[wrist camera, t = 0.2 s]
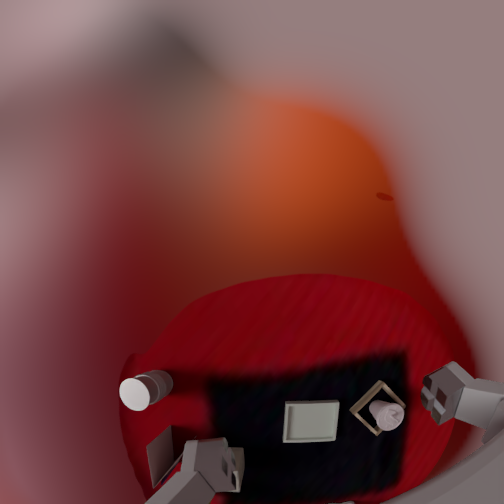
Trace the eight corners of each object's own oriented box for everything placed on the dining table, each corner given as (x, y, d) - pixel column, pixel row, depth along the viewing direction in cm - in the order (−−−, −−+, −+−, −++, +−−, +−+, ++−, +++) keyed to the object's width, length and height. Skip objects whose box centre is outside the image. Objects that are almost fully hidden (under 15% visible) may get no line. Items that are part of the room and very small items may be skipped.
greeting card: (177, 463, 54) (156, 490, 39) (153, 447, 55) (128, 469, 41) (199, 437, 56) (182, 462, 41) (174, 419, 57) (151, 440, 43)
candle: (164, 363, 61) (137, 371, 46) (180, 387, 59) (156, 402, 45) (143, 376, 60) (113, 386, 46) (159, 399, 59) (131, 415, 44)
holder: (401, 403, 54) (406, 405, 51) (372, 432, 53) (376, 435, 50) (378, 380, 57) (383, 382, 54) (349, 409, 55) (352, 413, 52)
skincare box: (225, 446, 55) (216, 469, 43) (243, 447, 55) (238, 470, 43) (227, 467, 53) (218, 491, 41) (245, 467, 53) (239, 492, 41)
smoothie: (383, 390, 56) (408, 402, 42) (391, 410, 54) (416, 426, 41) (360, 403, 55) (381, 419, 42) (368, 423, 54) (390, 442, 40)
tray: (337, 399, 56) (339, 402, 54) (333, 436, 54) (335, 440, 51) (285, 401, 57) (286, 403, 55) (282, 438, 55) (283, 442, 52)
